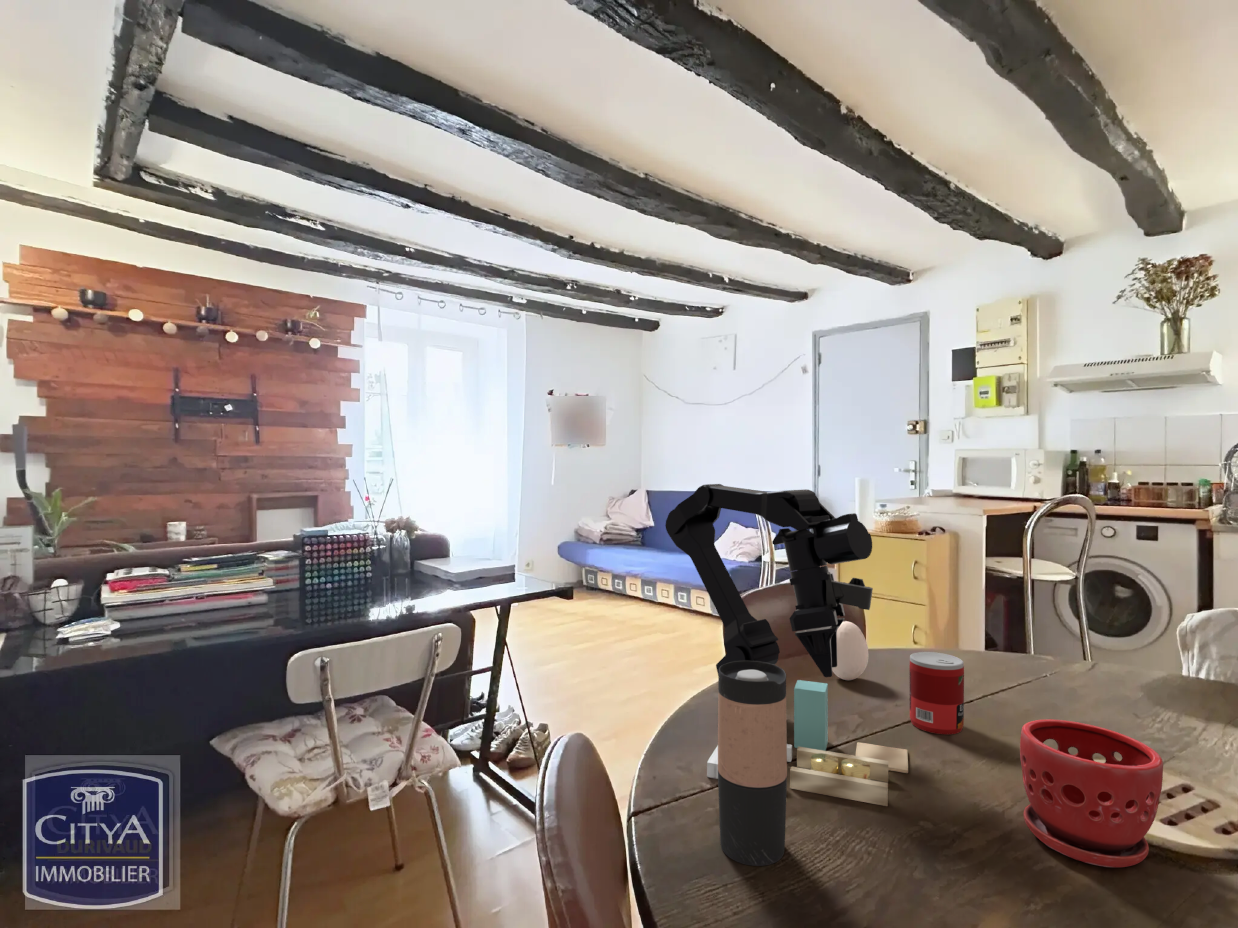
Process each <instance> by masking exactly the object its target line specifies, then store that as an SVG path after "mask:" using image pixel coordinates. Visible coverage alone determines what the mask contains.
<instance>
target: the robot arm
mask: <svg viewBox="0 0 1238 928" xmlns="http://www.w3.org/2000/svg"><path fill="white" fill-rule="evenodd" d="M722 509H725V510H730V511H737V512H741V513H746V514H747V513H749V514H753V515H757V516H759V517H761V518H763V520H764V521H766V522H769V523H771V524H774V525H776V526H778V527H780V528H779V529H778V533H777V534H776V535H775V537H774V538H773V540H772V543H771V544H772V545H774V546H776V545H784V549H785V554H786V557H787V558H786V559H787V563H788V568H789V569H788V570H789V574H790V577H791V578H789V584H790V586H793V592H794V595H795V596H794V598H795V601H796V605H795V607H794V608H795V610H794V611H793V612H792V614H791V616H790V617H789V622H790V626H791V627H790V628H791V631H792V632H794V635H795V637H796V638H797V639H798V640H799V641H800V643H801V644H802V646H803V647H804V648H805V649H804V650H806V651H807V653H808V654H809V656H810V657H811V659H812V660H813V662H814V664H815V665H816V667H817V668H818V669H819V671H820V672H821V674H822V675H823V677H824V678H831V677H833V671H832V667H837V630H838V628H839V627H840V625H841V624H842V622H845V616H846V614H845V609H844V605H845V606H853V607H857V608H858V609H861V610H868V611H870V609H871V604H872V597H873V587H870V586H866V585H865V582H864V579H863V578H860V577H859V578H857V577H851V579H850V581H849V582H842V581H836V580H835V578H834V574H833V573H831V571H829V567H828V564H829V565H839V564H843V563H849V562H855V561H861V560H866V559H868V558H869V557H870V556H871V553H872V551H873V541H872V539H873V538H872V535H871V533H869V530H868V529H867V528H866V526H865V524H863V522H861V521H859V519H858V514H857V513H856V512H855V513H846V514H842V515H840V516H838V517H835V516H834V515H833V514H832V513H831V512H830V511H829V510H828V509H827V508H826V506H824V505H822V503H821V502H820V501H819V498H818V496H817V494H816V493H815V491H813V490H810V489H790V490H787V489H786V490H775V491H764V490H763V491H762V490H757V489H749V488H741V487H734V486H728V485H723V484H721V483H709V484H708V483H707V484H702V485H701V486H699V487H697V489H695V491H694V492H693V493H692V494H690V495H689V496H688V497H687V498H686V499H685V498H684V500H682V501H681V502H679V503H678V504H677V505H676V506H675V507H674V509H672V510H670V511H669V513H668V515H667V516H666V517H667V518H666V520H665V525H664V526H665V530H666V533H667V534H668V536H669V537H670V539H671V541H672V542H673V543H674V545H675V546H676V548H678V549H679V550H680V551H682V552H683V553H685V554H686V555H687V556H688V557H690V559H691V561H692V563H693V565H694V568H695V570H696V571H697V574H698V575H699V578H700V580H701V582H702V583H703V586H704V587H705V590H706V592H707V593H708V596H709V598H710V600H711V603H712V604H713V606H714V608H715V610H716V612H717V614H718V616H719V618H720V620H721V622H722V624H723V626H724V635H723V646H724V649H725V652H726V654H725V655H723V657H722V658H721V659H720V660H719V661H718V662H717V663H716V665H715V668H716V672H717V674H718V673H719V668H720V666H722V665H723V664H726V663H729V662H734V661H759V662H765V663H770V664H773V665H777V663H778V660H779V655H780V647H779V644H778V642H777V641H779V638H778V637H777V636H776V635H775V633H774V632H773V630H772V627H771V625H770V622H769V621H768V620H767V619H766V618H762V619H759V620H758V619H756V618H755V617H754V616H753V615H751V612H750V611H749V610H748V607H747V606H746V604H745V601H744V600H743V598H742V596H741V594H740V592H739V590H738V587H737V586H736V584H735V582H734V580H733V578H732V577H731V574H730V573H729V570H728V569H727V567H726V565H725V562H724V560H723V559H722V557H721V556H720V554H719V551H718V550H717V548H716V545H715V540H716V539H715V538H716V530H715V529H716V528H715V526H714V523H716V521H717V520H718V519H719V518H720V515H721V511H722ZM790 528H792V529H794V530H791V529H790ZM811 530H812V531H813V532H812V531H811ZM838 616H839V618H838Z"/></svg>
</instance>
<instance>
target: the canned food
mask: <svg viewBox="0 0 1238 928" xmlns="http://www.w3.org/2000/svg"><path fill="white" fill-rule="evenodd" d="M908 665H909V668H908V669H909V719H910V722H911V724H912V725H913V726H914V727H915V728H917V729H920V730H922V731H924V732H927V733H932V734H937V735H948V736H949V735H955V734H959V733H960V732H962V730H963V728H964V724H965V723H964V722H965V720H964V719H965V665H964V660H962V659H961V658H959V657H957V656H954V655H951V654H948V653H942V652H936V651H919V652H913V653H912V654H910V655H909V664H908Z"/></svg>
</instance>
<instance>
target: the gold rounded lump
mask: <svg viewBox="0 0 1238 928" xmlns="http://www.w3.org/2000/svg"><path fill="white" fill-rule="evenodd" d="M810 770H815V771H821V772H827V773H833V774H838V759H837V758H836V757H834V756H832V755H829V754H824V753H817V754H813V755H812V756H811V769H810ZM838 775H839V774H838Z"/></svg>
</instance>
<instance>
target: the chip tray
mask: <svg viewBox="0 0 1238 928" xmlns="http://www.w3.org/2000/svg"><path fill="white" fill-rule="evenodd" d="M792 759H793V745H792V744H790V743H789V744H788V743H787V763H791V762H792ZM706 777H707V778H711V779H716V780H718V744H717V746H716V747H715V749H714V750H713V752H712V754H711V755H710V757H709V758H708V760H707V762H706Z"/></svg>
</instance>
